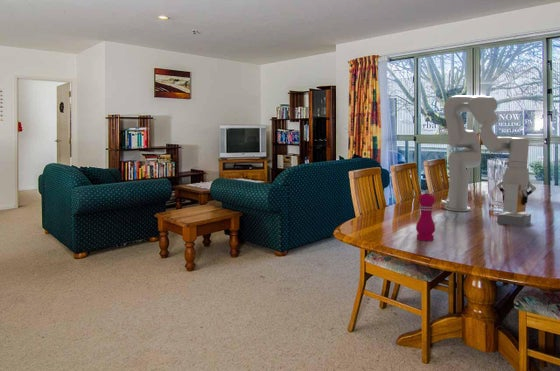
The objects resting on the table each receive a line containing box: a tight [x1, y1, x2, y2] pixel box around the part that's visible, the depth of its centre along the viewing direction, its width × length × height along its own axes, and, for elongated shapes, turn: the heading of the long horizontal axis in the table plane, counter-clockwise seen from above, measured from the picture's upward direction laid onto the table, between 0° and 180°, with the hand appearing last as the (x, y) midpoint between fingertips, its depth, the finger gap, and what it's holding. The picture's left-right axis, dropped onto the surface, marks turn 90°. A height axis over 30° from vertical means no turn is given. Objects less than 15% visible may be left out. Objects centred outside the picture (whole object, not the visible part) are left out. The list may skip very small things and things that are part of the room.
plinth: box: [496, 211, 532, 228], centre depth 198 cm, size 11×11×4 cm
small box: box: [502, 184, 527, 213], centre depth 197 cm, size 8×6×13 cm
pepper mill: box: [415, 189, 436, 242], centre depth 170 cm, size 7×7×20 cm
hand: (514, 203), depth 197 cm, fingers closed on small box, 7 cm apart
